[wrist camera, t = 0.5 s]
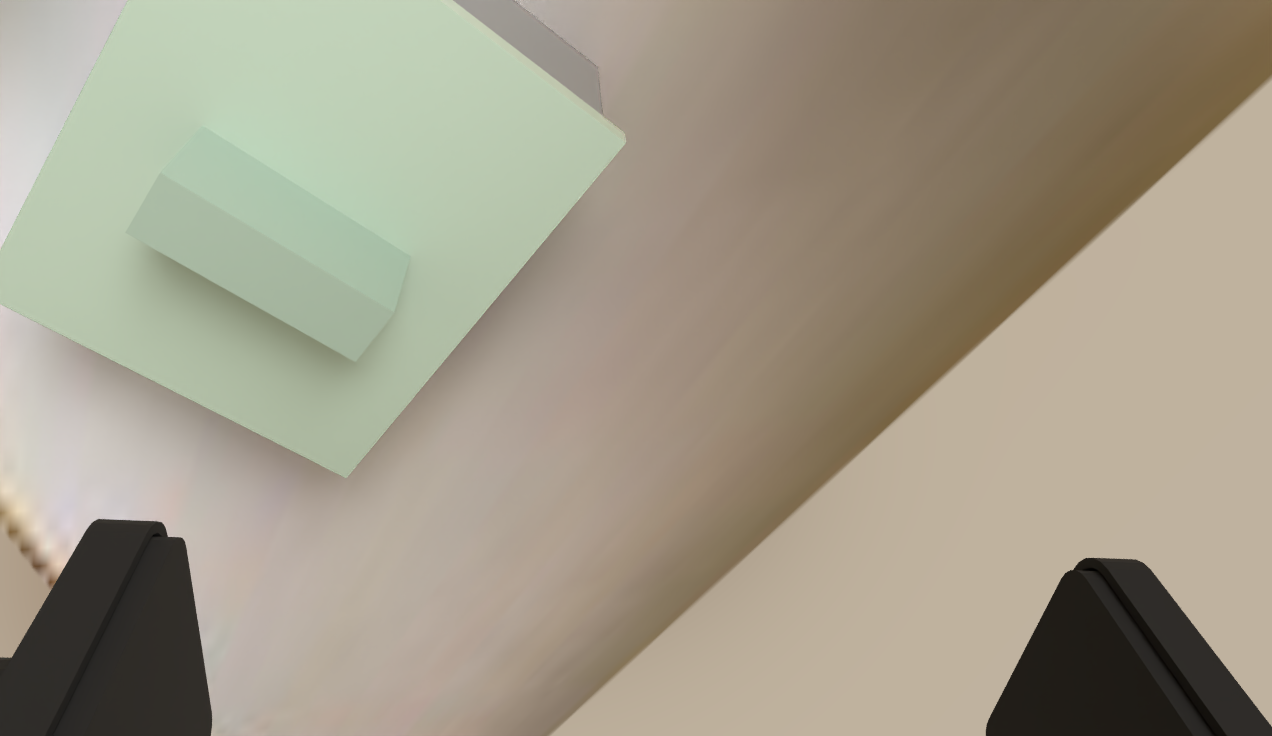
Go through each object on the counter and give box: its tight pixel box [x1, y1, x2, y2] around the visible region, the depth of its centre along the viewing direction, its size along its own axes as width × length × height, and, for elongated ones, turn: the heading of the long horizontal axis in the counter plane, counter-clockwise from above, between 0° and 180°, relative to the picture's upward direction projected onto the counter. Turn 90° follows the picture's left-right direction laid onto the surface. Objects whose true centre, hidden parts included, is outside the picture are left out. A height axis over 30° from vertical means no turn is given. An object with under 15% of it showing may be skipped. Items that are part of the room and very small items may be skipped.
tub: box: [453, 0, 603, 116], centre depth 37 cm, size 18×14×8 cm
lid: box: [0, 0, 626, 478], centre depth 33 cm, size 19×15×6 cm
